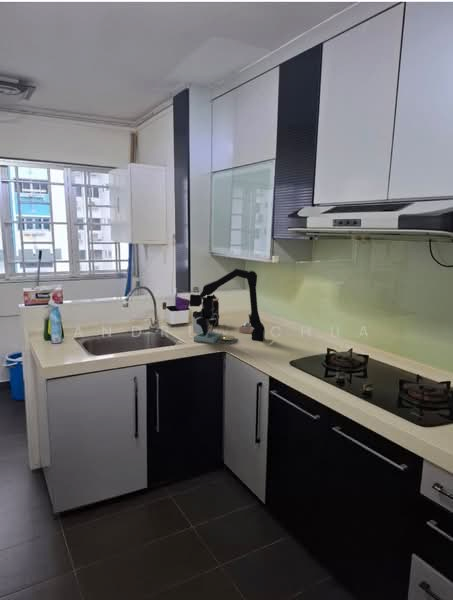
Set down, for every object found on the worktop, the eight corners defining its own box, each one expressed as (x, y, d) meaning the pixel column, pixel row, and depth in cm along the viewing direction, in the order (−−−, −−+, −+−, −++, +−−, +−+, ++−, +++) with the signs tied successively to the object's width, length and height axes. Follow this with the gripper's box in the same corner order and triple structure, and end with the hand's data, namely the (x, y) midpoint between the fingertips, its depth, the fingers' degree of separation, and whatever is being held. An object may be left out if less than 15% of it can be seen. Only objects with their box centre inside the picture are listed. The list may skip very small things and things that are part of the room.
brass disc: (236, 337, 226) (236, 335, 226) (231, 341, 218) (231, 339, 218) (223, 335, 229) (223, 334, 229) (217, 339, 222) (217, 337, 221)
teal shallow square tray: (221, 338, 230) (221, 333, 229) (213, 343, 219) (213, 338, 218) (203, 336, 234) (203, 331, 234) (193, 341, 223) (193, 336, 223)
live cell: (213, 338, 227) (213, 323, 226) (210, 340, 223) (210, 325, 222) (206, 337, 229) (206, 322, 228) (202, 339, 225) (203, 324, 224)
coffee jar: (218, 327, 256) (218, 299, 253) (201, 327, 256) (201, 299, 253) (218, 323, 267) (219, 297, 264) (202, 323, 267) (202, 297, 264)
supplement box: (201, 334, 239) (201, 313, 237) (192, 332, 244) (192, 312, 242) (209, 331, 245) (209, 311, 243) (200, 330, 249) (200, 310, 247)
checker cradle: (237, 340, 227) (237, 337, 226) (231, 344, 218) (231, 341, 218) (223, 338, 230) (223, 335, 230) (216, 342, 222) (216, 339, 221)
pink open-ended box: (254, 331, 246) (254, 325, 245) (250, 334, 239) (250, 328, 239) (243, 330, 248) (243, 324, 248) (239, 333, 242) (239, 326, 241)
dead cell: (250, 331, 245) (251, 322, 244) (248, 332, 241) (248, 323, 240) (244, 330, 246) (244, 321, 245) (242, 332, 243) (242, 323, 242)
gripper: (202, 302, 235) (202, 328, 237) (187, 308, 218) (187, 336, 220) (219, 304, 230) (219, 330, 233) (206, 309, 213) (206, 338, 216)
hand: (208, 333), depth 226 cm, fingers open, 8 cm apart
